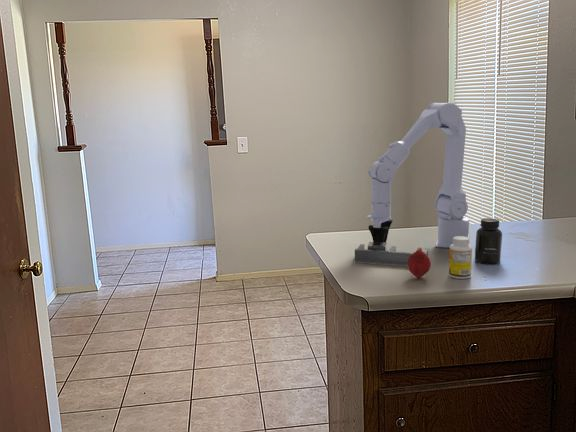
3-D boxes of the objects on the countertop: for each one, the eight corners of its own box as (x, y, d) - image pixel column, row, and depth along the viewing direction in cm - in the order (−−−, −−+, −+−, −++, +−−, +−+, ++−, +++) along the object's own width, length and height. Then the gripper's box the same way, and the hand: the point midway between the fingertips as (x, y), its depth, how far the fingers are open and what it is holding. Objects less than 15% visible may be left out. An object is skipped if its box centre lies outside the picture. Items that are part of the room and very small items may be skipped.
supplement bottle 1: (454, 271, 149) (455, 234, 147) (474, 275, 145) (476, 237, 143) (444, 277, 145) (446, 238, 143) (465, 281, 141) (467, 241, 139)
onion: (430, 282, 141) (431, 251, 140) (407, 280, 142) (407, 250, 141) (429, 275, 147) (430, 245, 145) (407, 274, 148) (407, 244, 146)
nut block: (386, 255, 166) (386, 242, 165) (385, 260, 161) (385, 246, 160) (369, 254, 167) (369, 241, 166) (367, 259, 162) (367, 245, 161)
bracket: (427, 258, 162) (428, 246, 161) (425, 267, 153) (425, 255, 152) (360, 253, 168) (360, 242, 167) (354, 262, 159) (354, 250, 158)
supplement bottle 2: (487, 266, 153) (490, 223, 151) (469, 260, 159) (471, 219, 157) (505, 262, 156) (508, 220, 154) (487, 257, 162) (489, 216, 160)
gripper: (372, 197, 175) (371, 239, 178) (363, 205, 162) (362, 251, 165) (394, 198, 173) (393, 241, 176) (387, 206, 160) (386, 252, 162)
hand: (380, 246), depth 170 cm, fingers open, 7 cm apart
